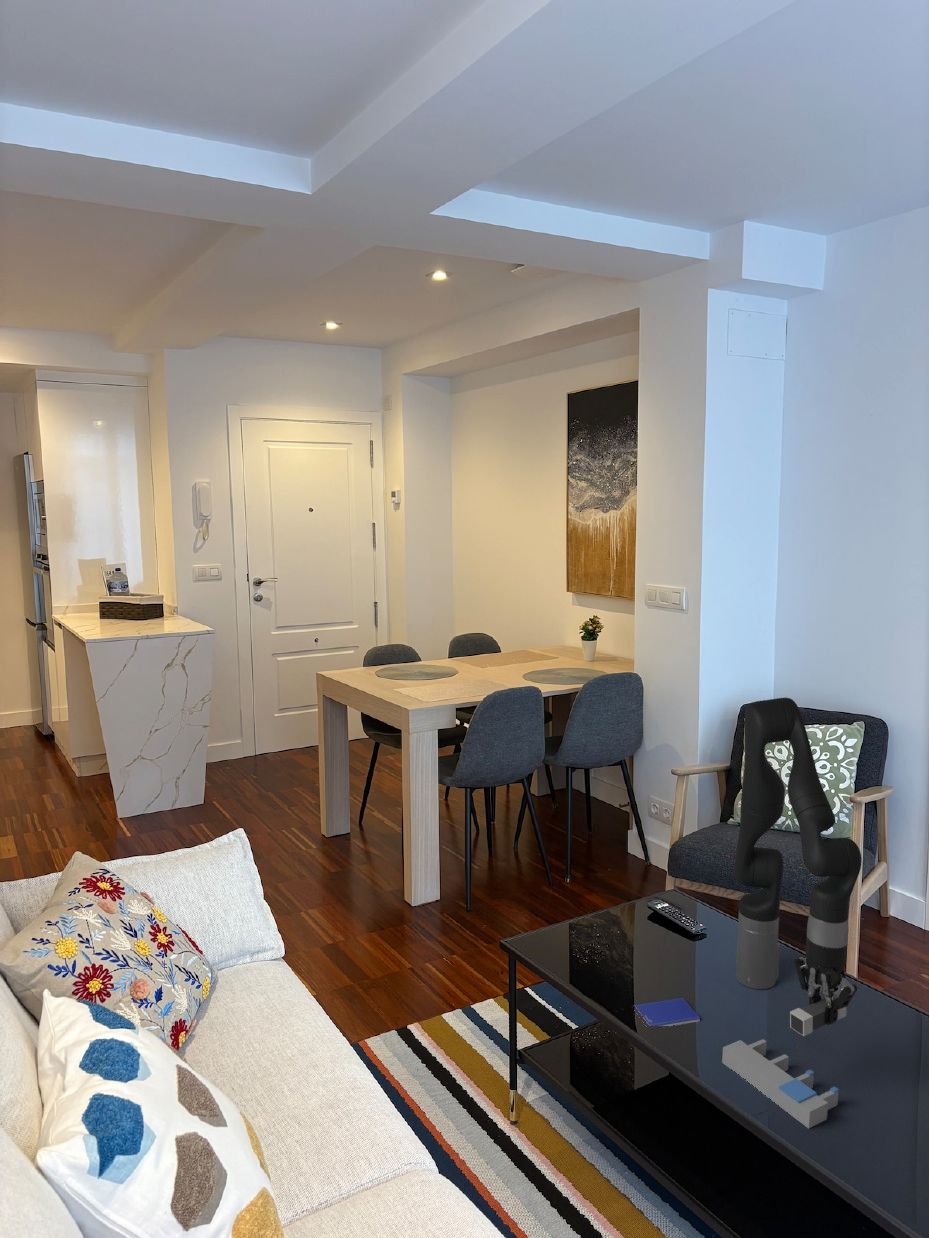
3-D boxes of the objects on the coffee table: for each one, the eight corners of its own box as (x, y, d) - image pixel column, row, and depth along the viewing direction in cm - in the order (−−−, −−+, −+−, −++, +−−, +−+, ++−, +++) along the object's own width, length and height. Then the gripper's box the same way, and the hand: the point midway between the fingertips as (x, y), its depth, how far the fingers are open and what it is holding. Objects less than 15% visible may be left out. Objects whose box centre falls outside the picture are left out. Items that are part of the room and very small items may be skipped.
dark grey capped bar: (832, 1007, 183) (832, 992, 183) (846, 1015, 180) (846, 1000, 180) (790, 1027, 178) (790, 1011, 177) (803, 1036, 175) (804, 1020, 174)
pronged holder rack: (756, 1047, 192) (757, 1030, 192) (844, 1109, 173) (846, 1091, 173) (722, 1062, 187) (722, 1045, 187) (808, 1128, 169) (809, 1109, 168)
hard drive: (649, 1025, 198) (700, 1017, 202) (633, 1004, 206) (682, 996, 209) (648, 1031, 199) (699, 1023, 202) (633, 1010, 207) (682, 1002, 210)
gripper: (870, 948, 173) (865, 1031, 175) (811, 917, 185) (807, 996, 187) (844, 957, 169) (838, 1042, 172) (785, 925, 182) (781, 1005, 184)
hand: (822, 1017), depth 179 cm, fingers closed on dark grey capped bar, 3 cm apart
